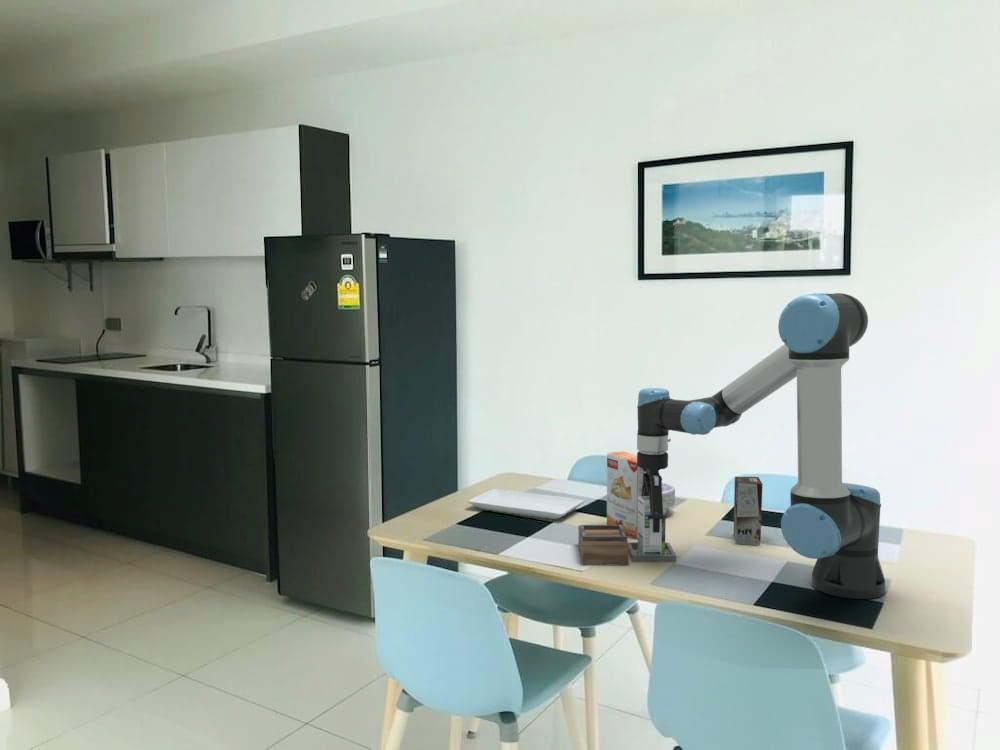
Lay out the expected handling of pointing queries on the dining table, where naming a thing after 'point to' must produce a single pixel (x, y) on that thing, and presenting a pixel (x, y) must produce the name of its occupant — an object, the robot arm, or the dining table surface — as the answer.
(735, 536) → the coffee box
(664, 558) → the low socket
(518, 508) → the tray
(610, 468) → the cracker box
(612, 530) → the raised socket stand
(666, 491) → the paper bowls
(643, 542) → the syrup box
